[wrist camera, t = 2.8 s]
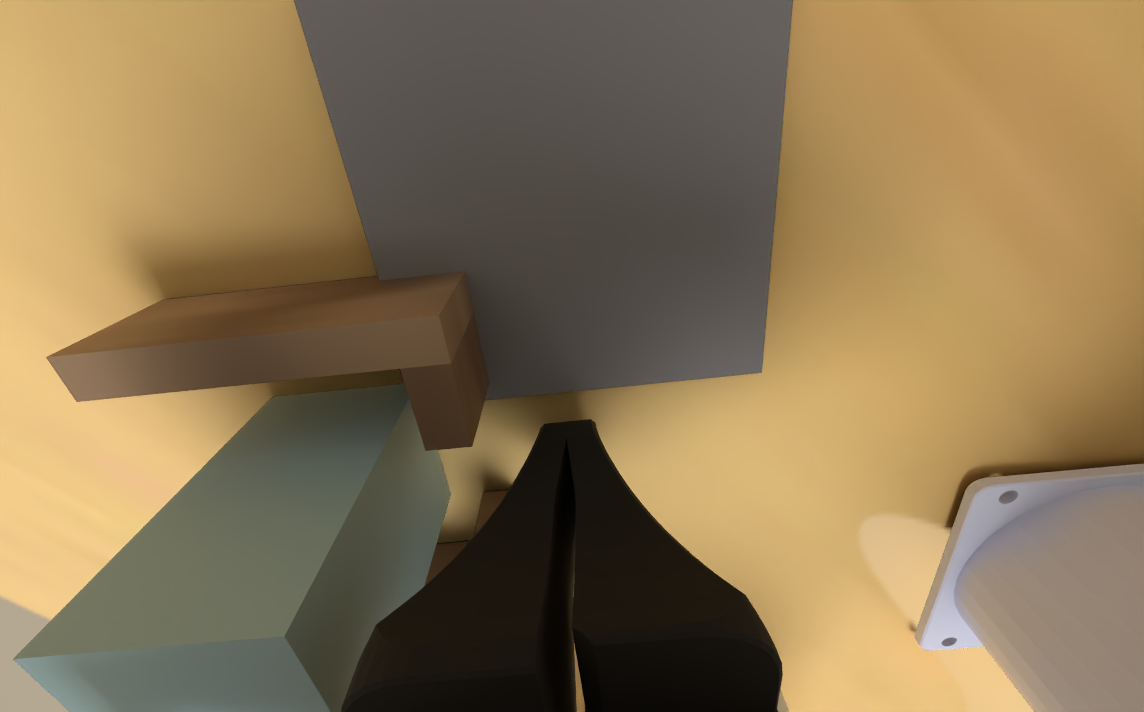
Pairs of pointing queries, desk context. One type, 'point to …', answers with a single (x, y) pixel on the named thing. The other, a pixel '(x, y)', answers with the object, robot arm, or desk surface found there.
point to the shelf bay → (305, 351)
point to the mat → (569, 173)
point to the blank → (259, 568)
